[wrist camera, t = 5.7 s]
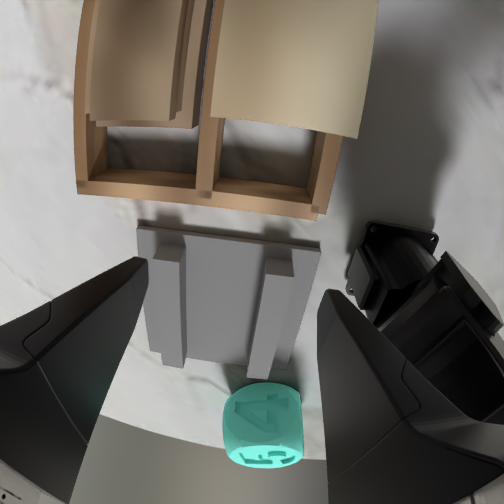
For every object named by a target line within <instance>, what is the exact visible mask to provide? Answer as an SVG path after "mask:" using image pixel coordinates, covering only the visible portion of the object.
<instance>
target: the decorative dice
mask: <svg viewBox="0 0 504 504" xmlns="http://www.w3.org/2000/svg"><path fill="white" fill-rule="evenodd" d="M223 439H224V445H225V449H226V452H227V454H228V456H229V457H230V458H231V459H232V460H233V461H234V462H236V463H238V464H241V465H244V466H248V467H256V468H278V467H284V466H288V465H291V464H294V463H296V462H297V461H299V460H300V459H301V458H302V457H303V456H304V435H303V420H302V409H301V400H300V393H299V392H297V391H296V390H294V389H293V388H291V387H289V386H287V385H284V384H280V383H273V382H260V383H254V384H250V385H247V386H245V387H243V388H241V389H239V390H238V391H236V392H235V393H234V394H232V395H231V396H230V397H229V398H228V400H227V401H226V403H225V407H224V412H223Z"/></svg>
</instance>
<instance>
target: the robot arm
mask: <svg viewBox="0 0 504 504" xmlns="http://www.w3.org/2000/svg"><path fill="white" fill-rule="evenodd" d="M372 226H375V228H374V229H373V230H370V228H371V227H372ZM433 237H434V239H433V240H431V239H432V238H433ZM438 241H439V237H438V235H437V234H436V233H434V232H431V231H426V230H421V229H416V228H411V227H406V226H400V225H395V224H390V223H385V222H379V221H369V222H368V223H367V224H366V227H365V230H364V233H363V237H362V240H361V243H360V246H358V247H357V248H356V250H355V253H354V256H353V259H352V262H351V265H350V268H349V271H348V278H349V279H348V282H347V285H346V292H347V294H348V295H352V296H355V298H356V301H357V304H358V307H359V308H360V310H365V312H366V315H367V318H368V319H367V318H366V317H365V315H364V314H363V313H362V312H361V311H360V310H359V309H358V308H357V307H356V306H355V305H354V304H353V303H352V302H351V301H350V300H349V299H348V298H347V297H346V296H345V295H344V294H343V293H342V292H341V291H339V290H334V289H327V290H326V291H325V293H324V295H323V298H322V301H321V303H320V306H319V309H318V313H317V362H318V371H319V380H320V390H321V400H322V411H323V422H324V434H325V447H326V461H327V477H328V499H329V504H504V341H503V340H502V338H501V337H500V335H499V334H498V331H499V330H500V329H501V328H502V326H503V325H504V323H503V321H502V318H501V316H500V314H499V312H498V309H497V307H496V305H495V303H494V302H493V301H492V299H491V298H490V297H489V296H488V294H487V293H486V292H485V290H484V289H483V288H482V287H481V285H480V284H479V283H478V282H477V281H476V280H475V279H474V278H473V277H472V276H471V275H470V274H469V273H468V272H467V271H466V270H465V269H464V268H463V267H462V266H461V265H460V264H459V263H458V262H457V261H456V260H455V259H454V258H453V257H452V256H451V255H450V254H449V253H448V252H447V251H445V252H444V254H443V255H442V256H441V259H440V261H439V262H438V261H437V260H436V258H435V257H434V256H433V253H434V251H435V248H436V246H437V243H438ZM148 285H149V269H148V260H147V259H146V258H141V257H133V258H131V259H129V260H127V261H125V262H123V263H121V264H119V265H117V266H115V267H113V268H111V269H109V270H107V271H105V272H103V273H101V274H99V275H97V276H96V277H94V278H92V279H90V280H88V281H86V282H84V283H82V284H80V285H78V286H77V287H75V288H73V289H71V290H69V291H67V292H65V293H64V294H62V295H60V296H58V297H56V298H54V299H53V300H52V301H49V302H47V303H45V304H43V305H42V306H40V307H38V308H36V309H34V310H32V311H30V312H29V313H27V314H25V315H22V316H20V317H18V318H16V319H14V320H12V321H10V322H8V323H6V324H3V325H1V326H0V504H38V502H39V499H40V496H41V493H44V494H45V495H47V496H50V497H51V498H54V499H56V500H58V501H60V502H62V503H64V504H69V502H70V499H71V496H72V492H73V488H74V486H75V482H76V479H77V476H78V473H79V470H80V467H81V464H82V461H83V458H84V455H85V452H86V449H87V444H88V443H89V440H90V437H91V435H92V432H93V429H94V426H95V424H96V421H97V418H98V416H99V413H100V410H101V408H102V405H103V403H104V400H105V398H106V395H107V393H108V390H109V388H110V385H111V383H112V380H113V378H114V375H115V373H116V371H117V368H118V366H119V363H120V361H121V359H122V356H123V354H124V352H125V349H126V347H127V345H128V343H129V340H130V338H131V336H132V334H133V331H134V329H135V326H136V323H137V320H138V317H139V313H140V310H141V307H142V304H143V301H144V298H145V295H146V292H147V289H148ZM351 288H352V289H353V290H350V289H351Z"/></svg>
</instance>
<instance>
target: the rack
mask: <svg viewBox="0 0 504 504" xmlns="http://www.w3.org/2000/svg"><path fill="white" fill-rule="evenodd" d="M224 3H225V0H215V6H214V12H213V19H212V26H211V33H210V40H209V48H208V55H207V64H206V72H205V81H204V90H203V100H202V110H201V121H200V133H199V146H198V159H197V174H187V173H176V172H164V171H150V170H135V169H118V168H108V162H107V126H104V127H96V121H90V113H89V114H85V92H86V73H87V60H88V50H89V41H90V32H91V25H92V18H93V12H94V6H95V0H84V3H83V8H82V14H81V21H80V28H79V35H78V44H77V54H76V66H75V81H74V155H75V172H76V184H77V194H84V195H97V196H109V197H121V198H132V199H143V200H153V201H163V202H173V203H182V204H192V205H200V206H209V207H218V208H226V209H234V210H242V211H250V212H257V213H265V214H272V215H280V216H287V217H294V218H301V219H308V220H314V221H317V216H318V214H325V215H326V212H327V208H328V204H329V200H330V195H331V191H332V187H333V182H334V178H335V173H336V169H337V164H338V159H339V154H340V150H341V145H342V140H343V136H341V135H336V134H331V133H326V132H321V131H317V134H316V139H315V145H314V150H313V156H312V161H311V166H310V171H309V177H308V182H307V187H306V188H300V187H293V186H287V185H280V184H273V183H265V182H258V181H250V180H242V179H234V178H226V177H219V173H220V163H221V152H222V142H223V132H224V123H225V118H220V117H210V114H211V104H212V95H213V86H214V77H215V68H216V60H217V52H218V44H219V37H220V30H221V23H222V16H223V9H224Z"/></svg>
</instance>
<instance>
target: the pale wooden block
mask: <svg viewBox="0 0 504 504" xmlns="http://www.w3.org/2000/svg"><path fill="white" fill-rule="evenodd" d="M378 2H379V0H225V3H224V9H223V16H222V23H221V30H220V37H219V44H218V52H217V60H216V68H215V77H214V86H213V95H212V104H211V114H210V117H220V118H231V119H240V120H249V121H257V122H265V123H272V124H279V125H286V126H292V127H298V128H304V129H310V130H315V131H321V132H326V133H331V134H336V135H341V136H345V137H350V138H354V139H357V137H358V132H359V127H360V122H361V117H362V112H363V106H364V101H365V95H366V89H367V84H368V78H369V71H370V65H371V58H372V51H373V44H374V37H375V29H376V20H377V11H378Z"/></svg>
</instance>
